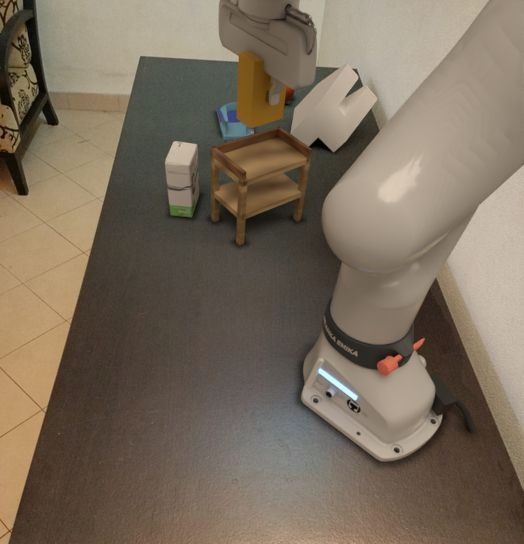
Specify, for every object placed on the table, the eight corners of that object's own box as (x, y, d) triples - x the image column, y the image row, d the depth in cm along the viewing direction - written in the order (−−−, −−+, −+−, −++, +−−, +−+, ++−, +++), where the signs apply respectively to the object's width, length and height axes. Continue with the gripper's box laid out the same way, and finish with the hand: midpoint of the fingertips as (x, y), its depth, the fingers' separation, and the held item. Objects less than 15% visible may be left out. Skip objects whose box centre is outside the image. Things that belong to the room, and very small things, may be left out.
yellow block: (282, 118, 81) (290, 54, 73) (250, 128, 78) (254, 62, 70) (268, 109, 82) (274, 45, 75) (236, 118, 79) (238, 52, 72)
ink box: (192, 218, 96) (190, 165, 87) (169, 215, 96) (163, 162, 87) (199, 195, 102) (198, 142, 93) (177, 192, 102) (173, 139, 93)
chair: (221, 168, 109) (221, 116, 100) (216, 150, 114) (216, 98, 105) (253, 167, 110) (257, 115, 101) (247, 149, 115) (250, 98, 106)
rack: (301, 219, 99) (312, 149, 87) (239, 245, 92) (242, 172, 80) (271, 196, 103) (279, 126, 91) (211, 219, 97) (210, 146, 85)
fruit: (301, 103, 130) (289, 75, 124) (275, 116, 133) (262, 89, 127) (300, 91, 135) (288, 63, 129) (275, 103, 138) (263, 77, 132)
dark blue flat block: (254, 129, 119) (247, 107, 126) (222, 129, 117) (216, 107, 125) (254, 135, 120) (246, 112, 127) (222, 135, 118) (216, 113, 126)
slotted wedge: (321, 163, 120) (378, 111, 109) (290, 133, 115) (346, 76, 104) (323, 137, 129) (376, 86, 117) (294, 108, 124) (346, 52, 112)
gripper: (334, 15, 63) (317, 118, 74) (245, -28, 72) (241, 69, 83) (299, 22, 60) (286, 128, 71) (211, -24, 70) (211, 76, 81)
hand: (261, 96), depth 77 cm, fingers closed on yellow block, 4 cm apart
